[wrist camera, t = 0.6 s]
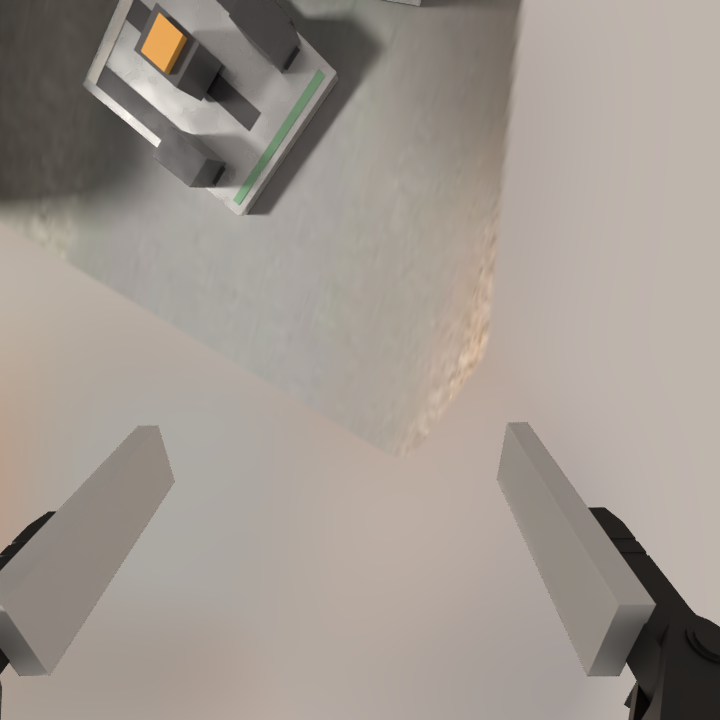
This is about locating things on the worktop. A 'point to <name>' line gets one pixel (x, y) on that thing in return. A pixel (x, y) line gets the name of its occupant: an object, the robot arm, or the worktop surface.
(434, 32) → the worktop surface
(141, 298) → the worktop surface
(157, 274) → the worktop surface
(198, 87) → the breaker handle
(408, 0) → the ink box
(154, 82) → the breaker panel
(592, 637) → the robot arm
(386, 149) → the worktop surface
